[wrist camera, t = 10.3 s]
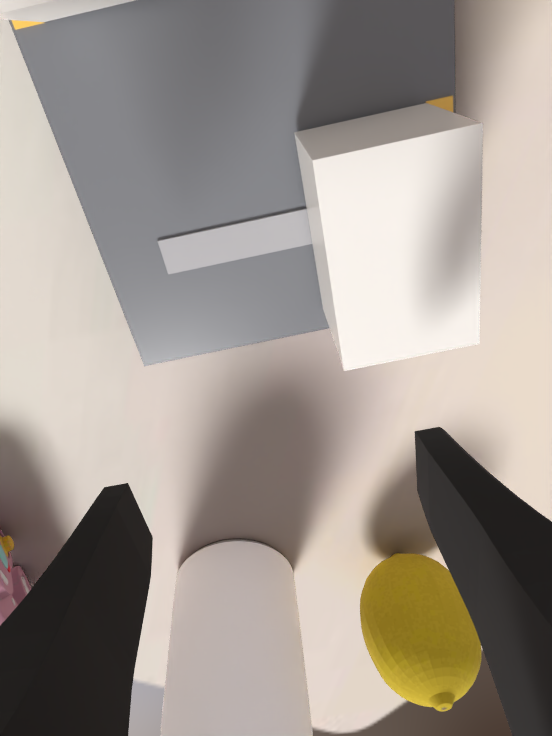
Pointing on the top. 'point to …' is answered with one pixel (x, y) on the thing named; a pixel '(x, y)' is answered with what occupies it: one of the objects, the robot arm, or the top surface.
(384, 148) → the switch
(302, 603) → the top surface
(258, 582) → the can
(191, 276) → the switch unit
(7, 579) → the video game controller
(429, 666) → the lemon
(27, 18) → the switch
